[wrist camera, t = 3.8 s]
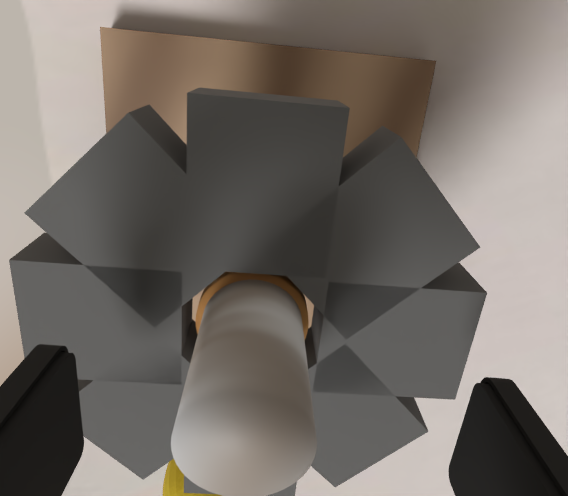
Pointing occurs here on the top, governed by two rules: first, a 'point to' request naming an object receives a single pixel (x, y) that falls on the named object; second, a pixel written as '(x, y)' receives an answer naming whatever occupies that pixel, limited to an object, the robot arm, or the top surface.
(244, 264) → the grey flat ring
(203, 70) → the pipe stand
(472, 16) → the top surface
